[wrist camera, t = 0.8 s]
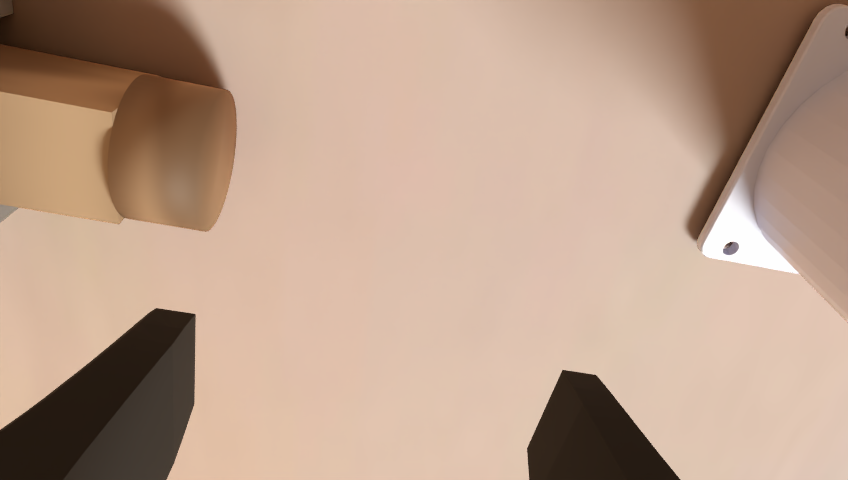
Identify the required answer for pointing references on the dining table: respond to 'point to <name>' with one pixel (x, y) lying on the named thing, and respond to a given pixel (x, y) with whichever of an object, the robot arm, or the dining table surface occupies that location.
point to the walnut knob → (112, 142)
